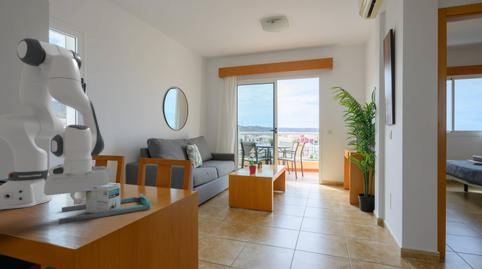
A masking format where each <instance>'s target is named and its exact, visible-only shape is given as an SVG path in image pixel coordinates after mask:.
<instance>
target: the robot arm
mask: <svg viewBox="0 0 482 269" xmlns="http://www.w3.org/2000/svg"><path fill="white" fill-rule="evenodd" d="M16 53H17V57H18V58H19V60H20V61H21V62H23V63H24V66H23V68H22V72H21V76H20V84H19V90H18V99H19V101H20V102H21V103H22V105H25V106H27V107H28V108H29V109H30V114H24V113H23V114H22V113H8V114H7V113H6V114H0V139H1V140H3V141H5V142H6V143H7V144H8V146H9V147H10V149H11V151H12V153H13V160H14V171H10V172H8V175H7V179H8V181H6V182H5V183H3V184H1V185H0V210H9V209H19V208H20V209H21V208H30V207H33V206H35V205H39V204H43V203H46V202H49V201H51V200H52V199H53V198H52V196H54V195H63V194H69V196H70V197H71V199H72V200H73V205H83V199H85V197H86V191H93V189H94V186H96V185H106V184H109V183H110V182H109V176H110V168H109V167H107V166H106V165H101V166H100V165H98V166H96V165H95V166H94V165H93V157H95V158H96V157H98V156H99V155H100V154H102V152H103V151H104V149H105V140H104V138H103V136H102V134H101V130H100V126H99V124H98V119H97V114H96V111H95V108H94V104H93V101H92V99H91V98H90V97H89V96H87V94H86V93H85V91H84V89H83V86H82V77H81V72H80V69H81V68H82V58H81V56H80V55H79V54H78V53H77V52H75V51H74V50H71V49H68V48H65V47H64V46H60V45H58V44H55V43H54V44H53V43H49V42H45V41H41V40H38V39H36V38H29V37H28V38H27V37H26V38H23V39H21V40H20V41H19V42H18V44H17V48H16ZM53 99H54V100H55V101H57V102H58V103H60V104H62V105H64V106H67V107H69V108H71V109H74V110H76V111H77V112H78V113H79V114H80V115H81V116H82V120H83V124H84V125H82V124H69V125H66V127H65V125H64V122H63V120H61V119H60V118H59V117H58V116H57V115H56V113H55V111H54V108H53V103H52V102H53V101H52V100H53ZM35 140H50V152H51V154H53V155H54V156H55V157H56V158H61V159H62V158H63V163H61V164H58V165H55V166H51V167H50V168H48V153H47V151H46V150H45V149H43V148H40V147H39V146H37V144H36V142H35ZM76 193H81V197H80V198H76V197H75V195H76Z"/></svg>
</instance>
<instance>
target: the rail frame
mask: <svg viewBox="0 0 482 269" xmlns="http://www.w3.org/2000/svg"><path fill="white" fill-rule="evenodd" d="M133 202H141V204H139V205H133V206H127V207H120V208H118V209H115V210H112V211H106V212H99V213H87V214H82V215H74V216H69V217H68V216H67V217H62V218H59V220H58V224H59V225H61V224H66V223H67V224H68V223H73V222H78V221H85V220H91V219H97V218H103V217H109V216H110V217H111V216H115V215H121V214H128V213H134V212H140V211H145V210H150V209H151V208H152V207H151V201H150V199H149V198H147V196H145V195H144V194H143V193H139V196H138V197H136V196H131V197H124V198H121V197H120V204H126V203H133ZM84 209H85V210H86V203H85V204H75V205H70V206H63V207H61V213H63V212H70V211H76V210H84Z"/></svg>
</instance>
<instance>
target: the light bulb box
mask: <svg viewBox="0 0 482 269" xmlns="http://www.w3.org/2000/svg"><path fill="white" fill-rule="evenodd" d="M108 183H109V184H106V185H96V186H94V189H93V191H86V195H85V202H86V203H85V204H86V208H85V212H86V213H88V214H93V213H99V212H106V211H112V210H115V209H118V208H121V203H120V199H121V183H116V182H115V183H114V182H108Z"/></svg>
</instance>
